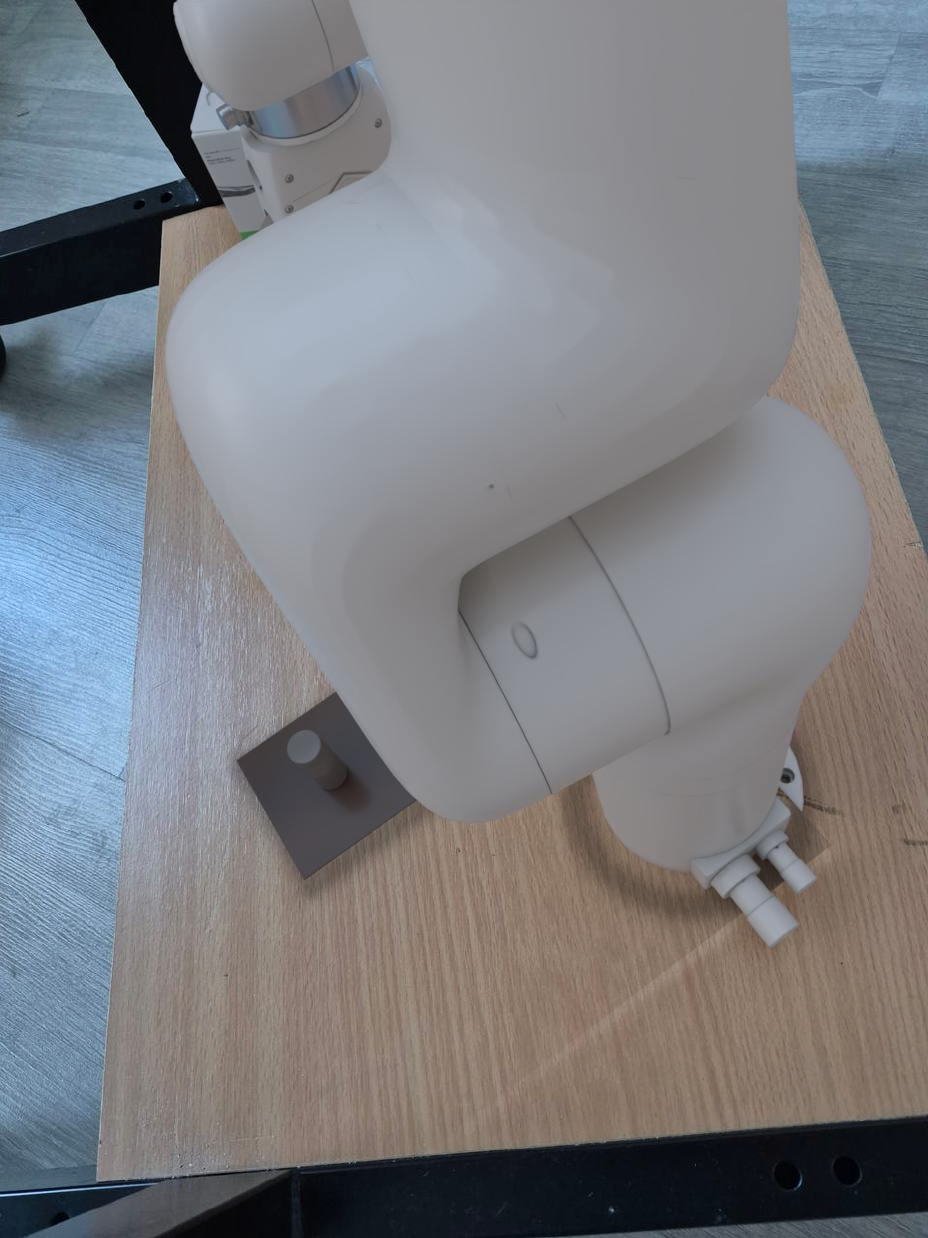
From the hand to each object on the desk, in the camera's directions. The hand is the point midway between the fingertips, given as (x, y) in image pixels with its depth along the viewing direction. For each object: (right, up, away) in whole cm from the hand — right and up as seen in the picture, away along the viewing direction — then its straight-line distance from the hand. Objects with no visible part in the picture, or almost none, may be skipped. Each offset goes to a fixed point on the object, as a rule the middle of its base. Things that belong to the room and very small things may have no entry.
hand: (374, 291), depth 77 cm
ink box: (-9, +9, +9) cm, 15 cm away
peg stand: (-1, -35, -15) cm, 38 cm away
